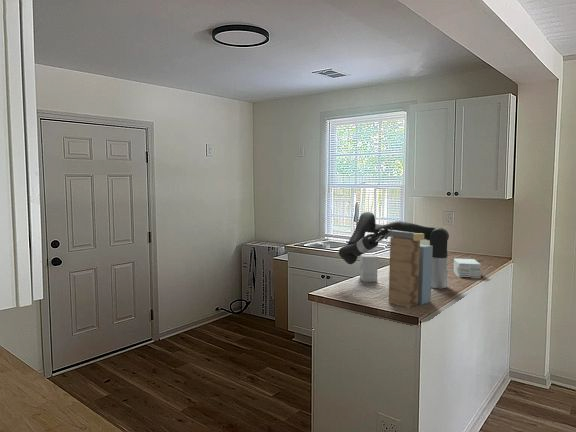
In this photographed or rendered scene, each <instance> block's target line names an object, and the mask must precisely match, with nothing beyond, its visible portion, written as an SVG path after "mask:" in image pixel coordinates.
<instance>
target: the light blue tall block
mask: <svg viewBox="0 0 576 432" xmlns="http://www.w3.org/2000/svg"><path fill="white" fill-rule="evenodd" d="M432 253H433V246H430V244H422V243H420V258H419V287H418V303H419V304H420V305H425V304H424V303H426V304H428V302H430V303H431V301H432V287H431V279H432ZM419 304H418V305H419Z"/></svg>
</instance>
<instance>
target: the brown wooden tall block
mask: <svg viewBox="0 0 576 432" xmlns="http://www.w3.org/2000/svg"><path fill="white" fill-rule="evenodd" d="M420 244H421V240H419V241H414V240H410V239H403V238H396V237H390V244H389V247H390V248H389V270H388V271H389V272H388V273H389V274H388V278H389V279H388V303H391V304H394V305H397V306H401V307H404V308H407V307H408V309H410V308H413V306H414V307H417V305H418V306H419V304H418V287H419V258H420ZM409 307H410V308H409Z"/></svg>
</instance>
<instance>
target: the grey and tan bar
mask: <svg viewBox="0 0 576 432" xmlns="http://www.w3.org/2000/svg"><path fill="white" fill-rule="evenodd" d="M382 230H384V229H379V231H382ZM383 236H389V237H396V238H403V239H410V240H414V241H419V240H420V241H424V240H425V239H424V233H413V232H405V231H397V230H388V233H386V234H385V235H383ZM389 237H388V238H389Z"/></svg>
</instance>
